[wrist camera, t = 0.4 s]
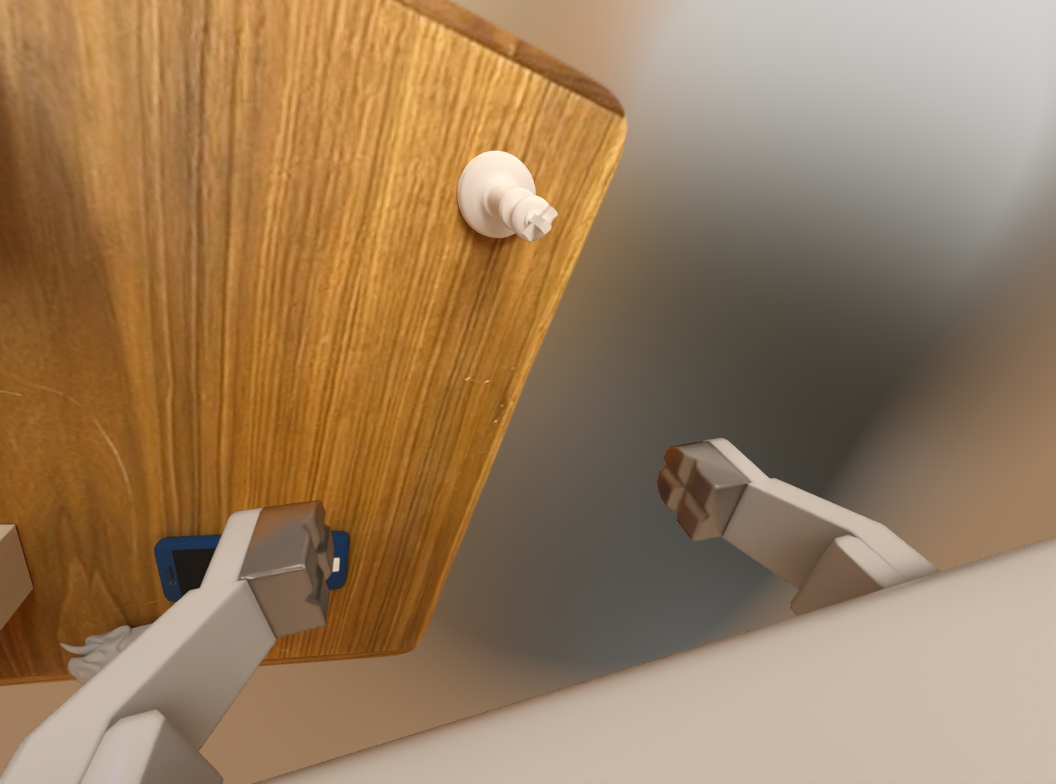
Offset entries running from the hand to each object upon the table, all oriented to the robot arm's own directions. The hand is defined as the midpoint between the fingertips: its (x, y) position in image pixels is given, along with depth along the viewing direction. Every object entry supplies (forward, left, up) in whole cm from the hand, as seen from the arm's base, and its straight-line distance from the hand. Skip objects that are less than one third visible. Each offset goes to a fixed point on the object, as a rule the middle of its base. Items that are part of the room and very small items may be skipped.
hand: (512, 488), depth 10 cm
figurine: (+28, -31, -21) cm, 47 cm away
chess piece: (-3, +5, -21) cm, 22 cm away
